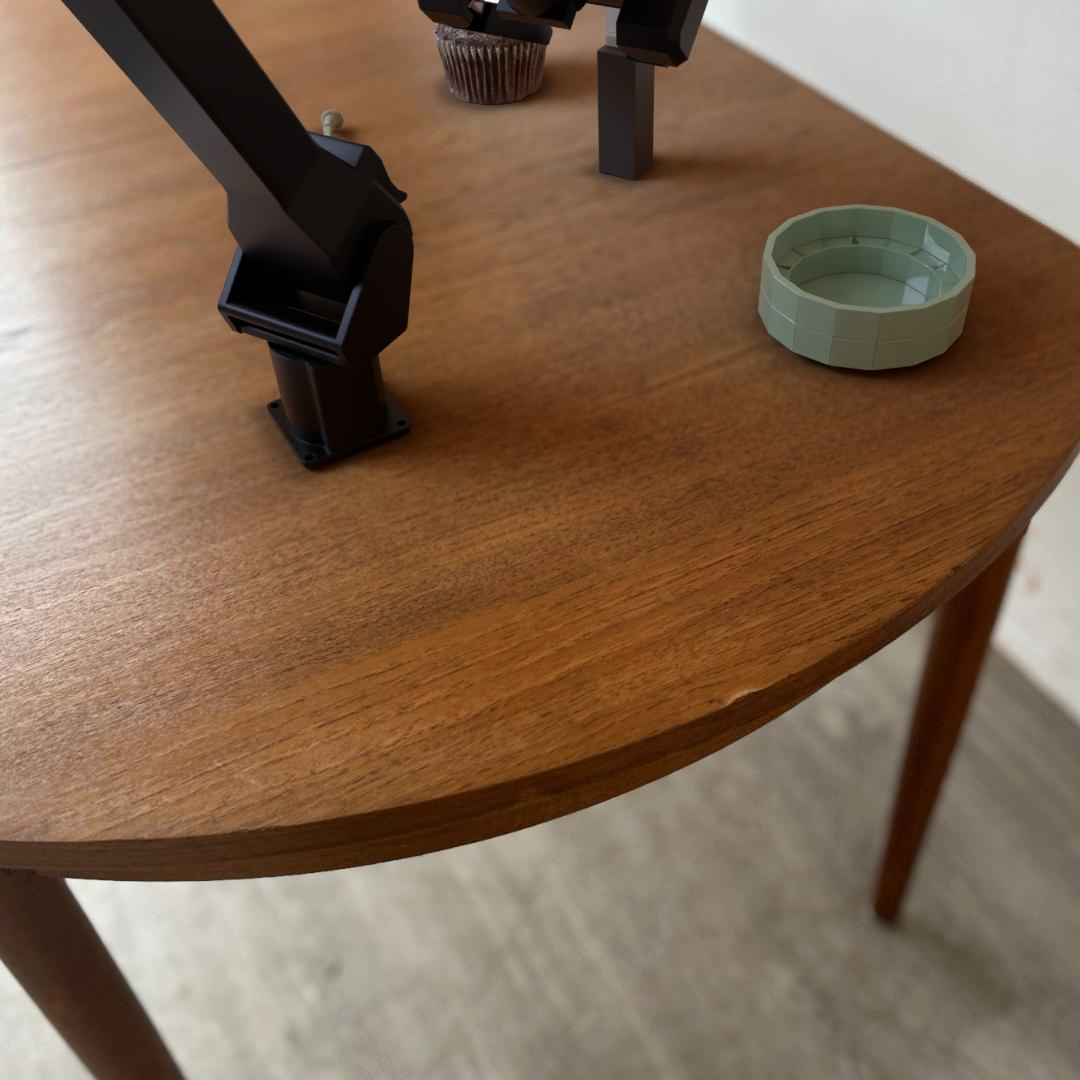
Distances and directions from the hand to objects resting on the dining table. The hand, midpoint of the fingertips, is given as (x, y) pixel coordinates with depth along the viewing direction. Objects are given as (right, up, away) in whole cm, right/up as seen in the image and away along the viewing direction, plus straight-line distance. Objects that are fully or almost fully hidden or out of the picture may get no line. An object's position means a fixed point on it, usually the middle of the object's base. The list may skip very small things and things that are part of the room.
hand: (607, 48), depth 80 cm
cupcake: (-8, +5, +20) cm, 23 cm away
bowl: (+15, -20, -8) cm, 26 cm away
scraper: (+2, -5, +8) cm, 10 cm away
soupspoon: (-20, -8, +8) cm, 23 cm away
